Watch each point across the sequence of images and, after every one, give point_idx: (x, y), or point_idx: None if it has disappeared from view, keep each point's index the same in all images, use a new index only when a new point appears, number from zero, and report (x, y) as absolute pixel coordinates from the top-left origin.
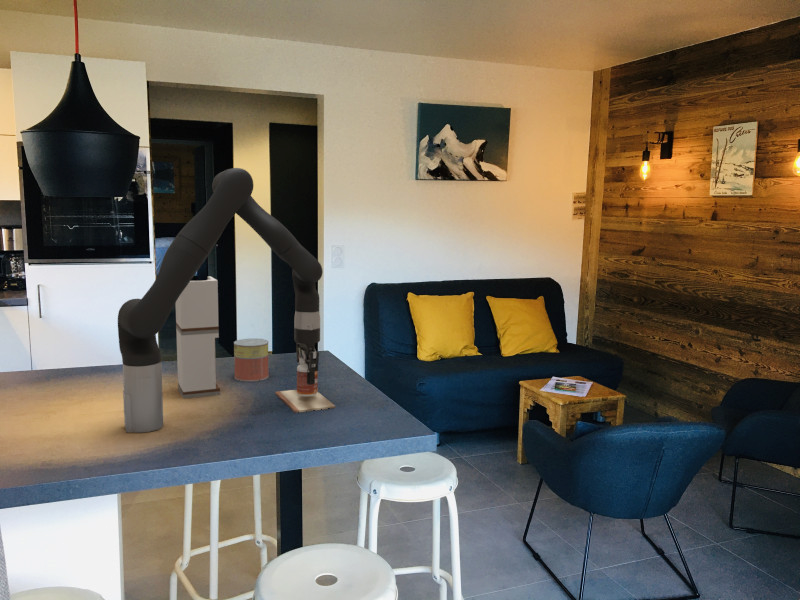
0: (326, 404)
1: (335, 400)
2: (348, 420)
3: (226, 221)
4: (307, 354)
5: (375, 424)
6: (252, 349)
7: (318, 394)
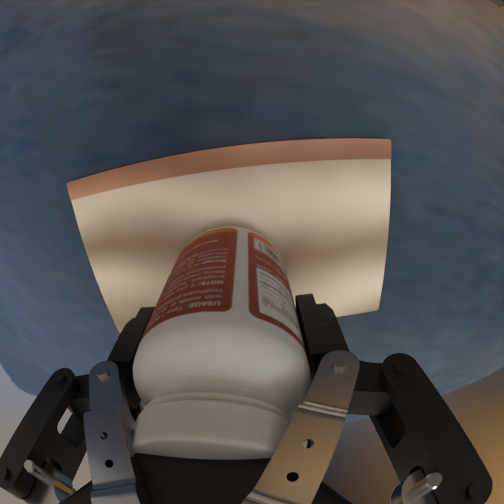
0: (134, 313)
1: None
2: (32, 319)
3: None
4: (76, 492)
5: (27, 353)
6: None
7: None
